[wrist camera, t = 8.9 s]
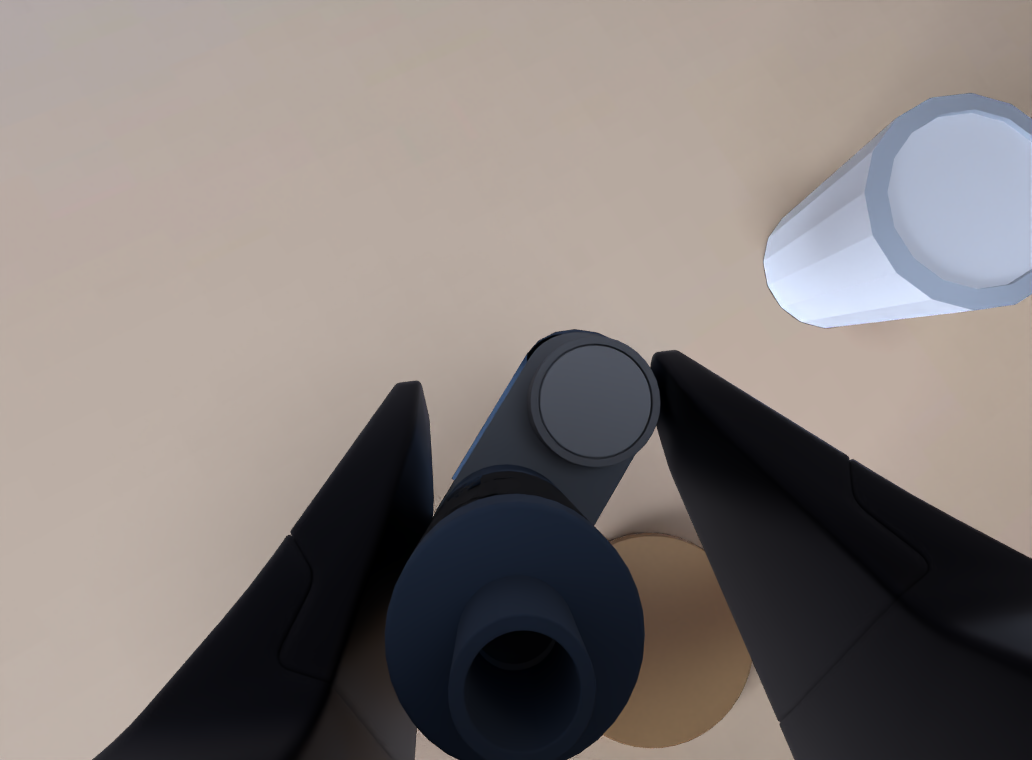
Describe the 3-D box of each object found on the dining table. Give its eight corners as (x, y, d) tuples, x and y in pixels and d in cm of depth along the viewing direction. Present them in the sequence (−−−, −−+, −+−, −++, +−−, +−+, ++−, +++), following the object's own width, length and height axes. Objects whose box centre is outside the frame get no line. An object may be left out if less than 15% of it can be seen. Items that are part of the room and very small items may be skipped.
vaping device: (441, 495, 15) (263, 756, 3) (531, 350, 16) (649, 139, 4) (513, 540, 15) (586, 958, 3) (601, 393, 16) (934, 314, 4)
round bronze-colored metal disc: (788, 642, 21) (795, 648, 21) (642, 785, 21) (645, 794, 20) (656, 490, 21) (660, 492, 21) (506, 628, 21) (507, 633, 20)
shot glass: (824, 374, 22) (978, 356, 15) (717, 258, 22) (821, 187, 15) (930, 271, 23) (1127, 208, 16) (826, 159, 23) (974, 46, 16)
